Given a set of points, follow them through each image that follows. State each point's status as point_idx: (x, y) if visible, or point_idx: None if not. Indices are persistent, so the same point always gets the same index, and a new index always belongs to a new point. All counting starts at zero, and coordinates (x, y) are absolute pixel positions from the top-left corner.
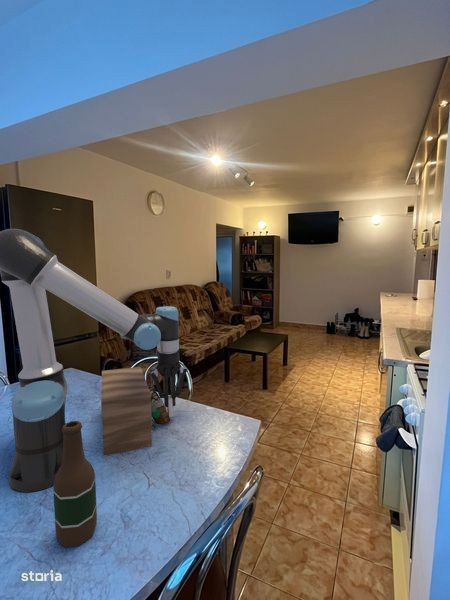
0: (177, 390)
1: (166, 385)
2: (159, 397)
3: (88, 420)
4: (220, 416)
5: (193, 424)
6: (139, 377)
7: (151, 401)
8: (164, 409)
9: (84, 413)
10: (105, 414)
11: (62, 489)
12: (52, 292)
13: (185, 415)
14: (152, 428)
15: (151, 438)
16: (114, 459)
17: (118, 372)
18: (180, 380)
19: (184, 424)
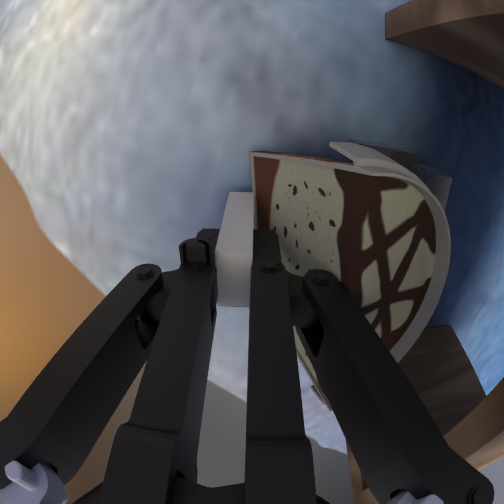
0: (151, 320)
1: (271, 372)
2: (352, 261)
3: (485, 309)
4: (27, 167)
5: (135, 122)
6: (484, 452)
7: (407, 251)
8: (309, 156)
9: (471, 345)
10: None
11: None
12: None
13: (158, 223)
14: (360, 141)
15: (404, 5)
16: None
17: (479, 467)
18: (69, 383)
19: (178, 135)
